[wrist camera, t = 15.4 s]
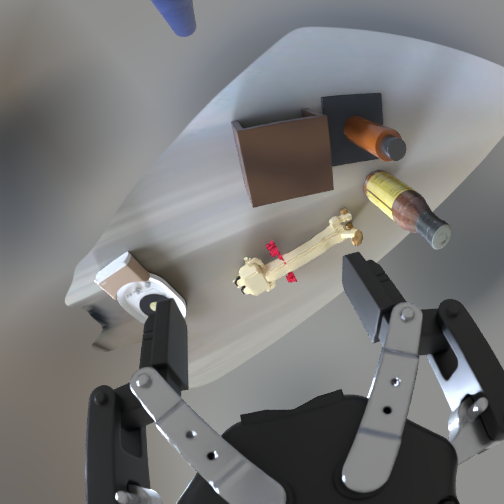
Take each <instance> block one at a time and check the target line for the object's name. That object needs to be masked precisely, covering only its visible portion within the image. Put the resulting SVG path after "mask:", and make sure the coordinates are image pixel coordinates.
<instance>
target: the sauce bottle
mask: <svg viewBox="0 0 504 504" xmlns="http://www.w3.org/2000/svg"><path fill="white" fill-rule="evenodd" d="M364 192H365V194H366V196H367V197H368V198H369V200H370V201H372V202H373V203H374V204H375V205H376V206H377V207H379V208H380V209H381V210H382V211H383V212H384V213H386V214H387V215H388V216H389V217H390V218H391V219H392V220H394V221H395V222H396V223H397V224H399V225H400V226H401V227H402V228H403V229H405V230H408V231H410V232H412V233H419V234H420V235H422V236H423V237H424V238H425V239H426V240H427V241H428V243H429V245H430V246H432V247H433V248H435V249H441V248H442V247H444V246H445V245H446V244H447V243H448V241H449V239H450V237H451V235H452V229H451V227H450V225H449V224H448V223H446V222H445V221H443V220H441V219H439V218H438V217H437V216H436V215H435V214H434V213H433V212H432V211H431V209H430V208H429V206H428V205H427V203H426V201H425V199H424V198H423V197H422V196H421V195H420V194H419V193H418V192H416V191H415V190H413V189H412V188H410V187H409V186H407V185H406V184H404V183H403V182H401V181H400V180H398V179H396V178H395V177H393V176H392V175H390V174H389V173H386V172H383V171H379V170H378V171H375V172H372V173H371V174H369V175H368V176H367V178H366V180H365V183H364Z"/></svg>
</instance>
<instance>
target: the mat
mask: <svg viewBox="0 0 504 504" xmlns="http://www.w3.org/2000/svg"><path fill="white" fill-rule="evenodd" d="M321 100H322V107H323V115H326V116H327V119H328V128H329V138H330V148H331V160H332V166H337V165H343V164H349V163H355V162H361V161H367V160H374V159H379V158H378V157H376V156H374V155H373V154H371V153H370V152H368V151H366V150H364V149H363V148H361V147H359V146H358V145H356V144H354V143H352V142H351V141H349V140H348V139H347V138H346V136H345V134H344V126H345V123H346V121H347V120H348V119H349V118H351V117H353V116H361V117H363V118H366V119H369V120H371V121H374V122H376V123H379V124H381V125H383V114H382V99H381V93H373V94H354V95H340V96H329V97H321Z"/></svg>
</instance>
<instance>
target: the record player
mask: <svg viewBox="0 0 504 504" xmlns="http://www.w3.org/2000/svg"><path fill="white" fill-rule="evenodd" d="M95 282H96V283H97V284H98V285H99V286H100V287H101V288H102V289H103V290H105V291H106V292H107V293H108V294H109V295H110V296H111V297H112V298H114V299H115V300H116V299H117V298H118V301H119V303H120V305H121V306H122V307H123V308H124V309H125V310H126V311H127V312H128V313H130V314H131V315H132V316H133V317H134V318H136V319H137V320H138V321H140V322H141V323H142V324H145V321H146V320H147V318H148V316H149V314H152V313H155V311H156V303H157V301H160V300H164V299H169V298H173V299H174V300H175V302H176V304H177V306H178V308H179V309H180V311H181V313H182V315H183V317H184V318H185V315H186V303H185V301H184V299H183V298H182V297H181V296H180V295H179V294H178V293H177V292H176V291H175V290H174V289H173V288H172V287H171V286H170V285H169V284H168V283H167V282H166V281H165V280H164V279H162V278H161V277H159V276H157V275H155V274H152V273H148V272H147V271H146V270H145V269H144V268H143V267H142V266H141V265H140V264H139V263H138V262H137V261H136V259H135V258H134V257H133V256H132V255H131V254H130V253H129V252H128V251H127V252H125V253H124V254H123V255H121V256H120V257H118V258H117V259H115V260H114V261H113V262H111V263H110V264H108V265H107V266H106V267H104V268H103V269H102V270H100V271H99V272H98V273H97V275H96V277H95Z"/></svg>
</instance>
